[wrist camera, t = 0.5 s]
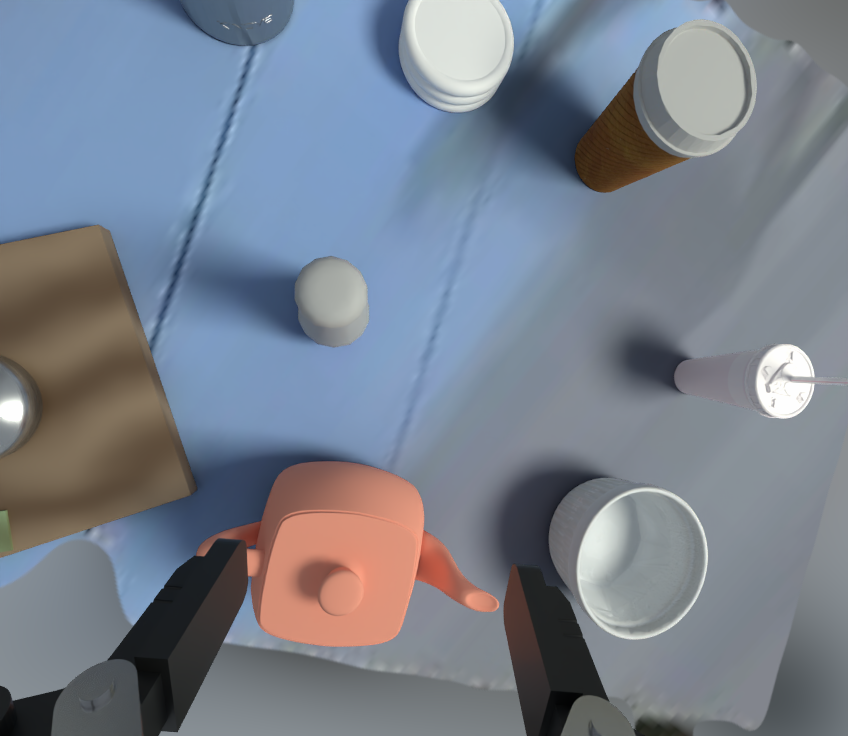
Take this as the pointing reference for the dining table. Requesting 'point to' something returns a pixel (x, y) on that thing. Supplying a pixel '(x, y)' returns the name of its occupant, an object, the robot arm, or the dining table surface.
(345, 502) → the teapot
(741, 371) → the smoothie
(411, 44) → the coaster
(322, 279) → the salt shaker
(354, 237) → the dining table surface
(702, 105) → the disposable coffee cup
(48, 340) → the wooden cutting board
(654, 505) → the ramekin
